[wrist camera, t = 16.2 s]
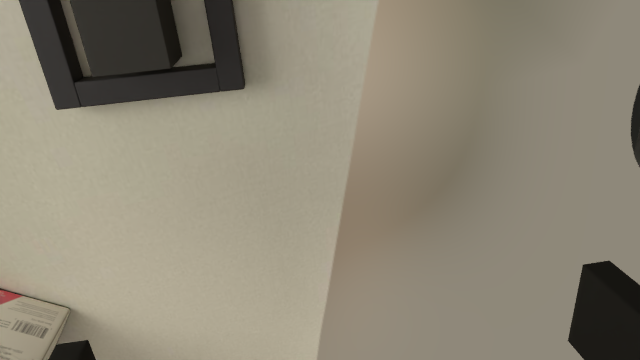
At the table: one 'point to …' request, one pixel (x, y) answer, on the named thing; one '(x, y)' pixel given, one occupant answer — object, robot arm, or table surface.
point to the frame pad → (179, 81)
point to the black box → (127, 35)
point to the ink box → (29, 327)
